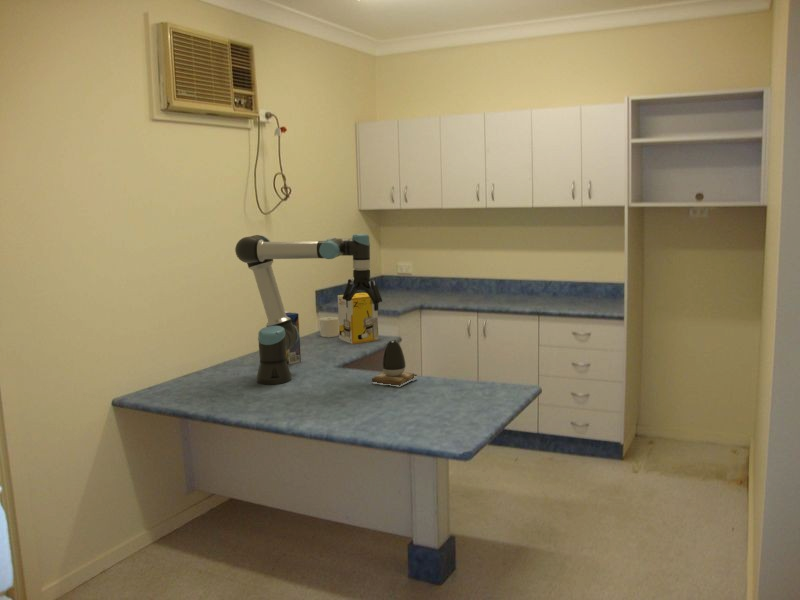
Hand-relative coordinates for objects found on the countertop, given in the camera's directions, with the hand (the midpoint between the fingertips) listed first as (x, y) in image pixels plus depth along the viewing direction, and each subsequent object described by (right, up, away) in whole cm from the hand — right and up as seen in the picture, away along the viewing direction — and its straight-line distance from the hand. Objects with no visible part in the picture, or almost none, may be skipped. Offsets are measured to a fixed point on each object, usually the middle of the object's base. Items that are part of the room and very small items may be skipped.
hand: (362, 316), depth 325 cm
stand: (+14, -28, -11) cm, 33 cm away
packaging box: (-6, -15, +82) cm, 83 cm away
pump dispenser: (+14, -25, -11) cm, 31 cm away
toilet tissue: (-23, -13, +96) cm, 100 cm away
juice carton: (-39, -23, +34) cm, 57 cm away
